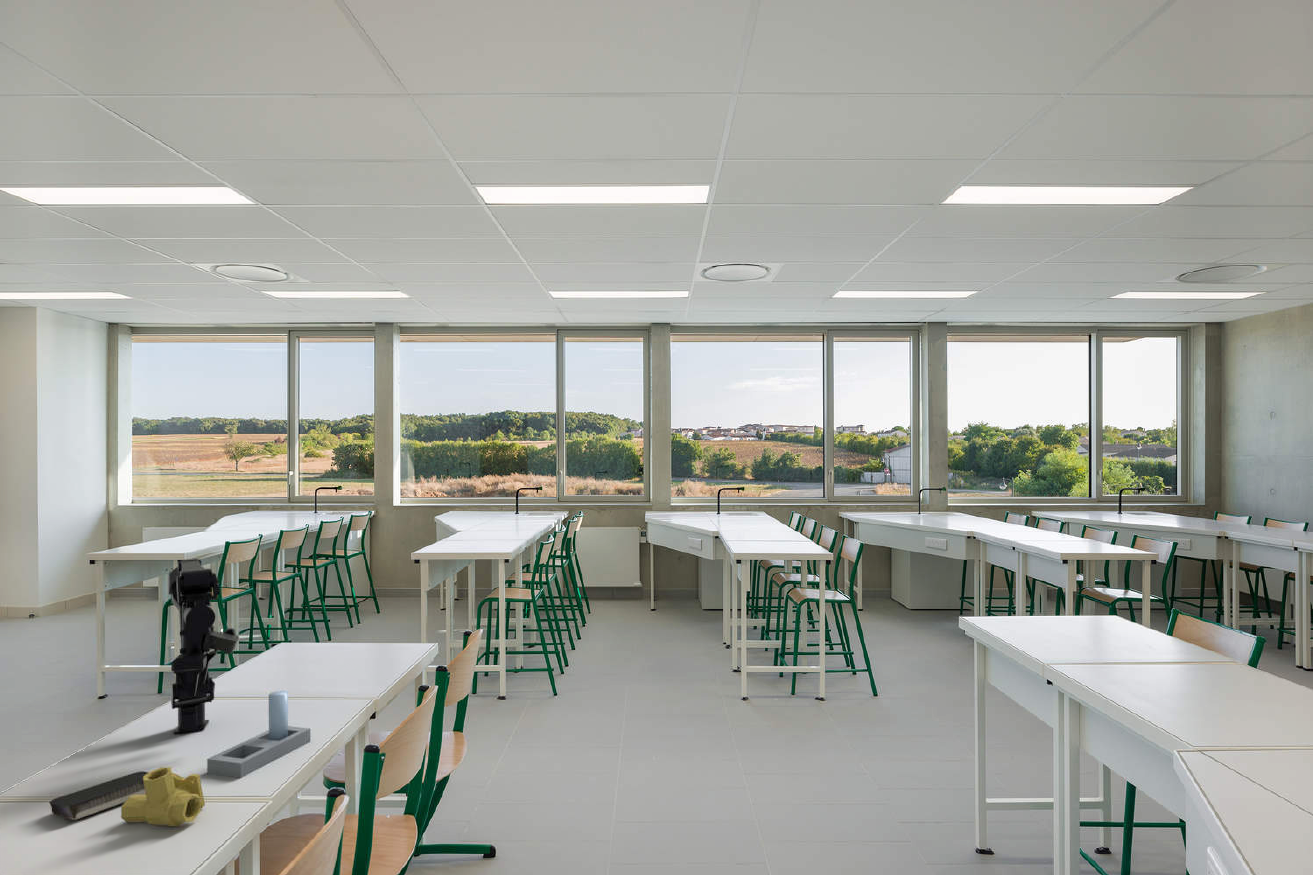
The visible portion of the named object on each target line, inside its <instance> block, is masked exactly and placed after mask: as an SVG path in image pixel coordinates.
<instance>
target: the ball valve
mask: <svg viewBox="0 0 1313 875" xmlns="http://www.w3.org/2000/svg"><path fill="white" fill-rule="evenodd" d="M172 771H173V770H172V767H171V766H163V767H159V768H156V769H154V770H151V771H148V772H149V773H148V774H146V775H145V776H143V781H144V787H145V792H146V795H133V796H130V797H128V799H127V800H126V801H125V802H124V803H122V806H121V810H120V811H121V813H120V814H121V816H120V818H121V819H122V820H123V821H124V822H125V823H147V824H149V825H152V826H159V825H161V826H169V827H179V826H180V825H182V824H183V823H188V822H194V821H195V819H197V817H198V815H199V814H200V813H201V811H202V808H204V806H206V803H205V802H206V801H205V798H204V792H203V787H202V782H201V777H200V776H201V775H200V774H198V773H195V774H194V773H192V774H190V775H189V776H187V777H183V776H181V775H178V773H175V772H172Z"/></svg>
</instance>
